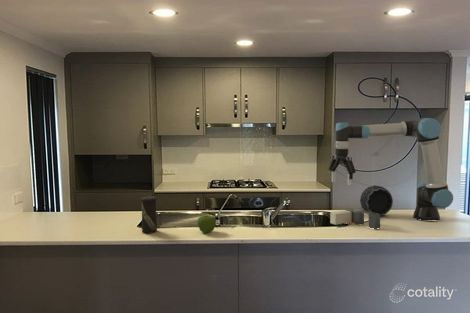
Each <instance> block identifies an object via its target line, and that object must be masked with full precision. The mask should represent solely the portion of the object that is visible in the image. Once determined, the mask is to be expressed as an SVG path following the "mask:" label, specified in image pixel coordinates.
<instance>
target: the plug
mask: <svg viewBox="0 0 470 313" xmlns="http://www.w3.org/2000/svg"><path fill="white" fill-rule="evenodd" d="M353 209H354V208H346V209H345V210H339V211H331V212H330V214H329V216H330V220H329V221H330V222H329V223H330V224H332V225H336V226H337V225H342V223H349V222H353Z"/></svg>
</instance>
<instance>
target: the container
mask: <svg viewBox="0 0 470 313" xmlns="http://www.w3.org/2000/svg"><path fill="white" fill-rule="evenodd" d="M157 200H158V199H157V196H150V195H149V196H143V197H141V198H140V202H141V232H142V233H143V234H153V233H156V232H157V231H158V222H157Z"/></svg>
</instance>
